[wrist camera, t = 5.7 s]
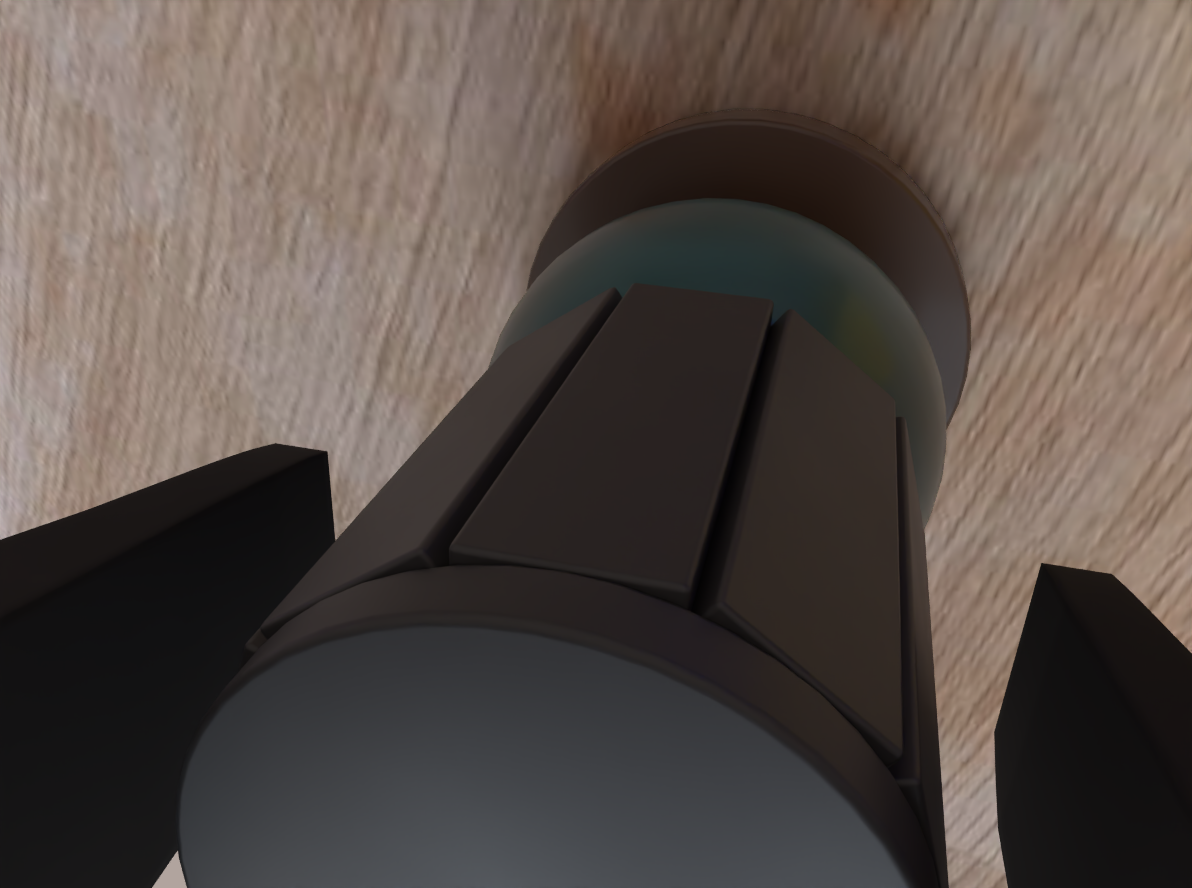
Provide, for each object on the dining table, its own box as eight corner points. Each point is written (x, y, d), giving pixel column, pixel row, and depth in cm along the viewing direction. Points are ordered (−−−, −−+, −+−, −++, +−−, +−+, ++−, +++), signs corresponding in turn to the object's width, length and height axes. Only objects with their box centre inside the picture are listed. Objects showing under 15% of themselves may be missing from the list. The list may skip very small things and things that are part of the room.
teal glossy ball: (922, 541, 18) (943, 852, 12) (536, 480, 20) (381, 733, 14) (1011, 128, 15) (1097, 271, 9) (542, 91, 16) (342, 193, 10)
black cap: (882, 725, 13) (881, 1280, 8) (464, 644, 14) (208, 1081, 9) (970, 321, 10) (1058, 723, 5) (458, 260, 11) (100, 542, 6)
